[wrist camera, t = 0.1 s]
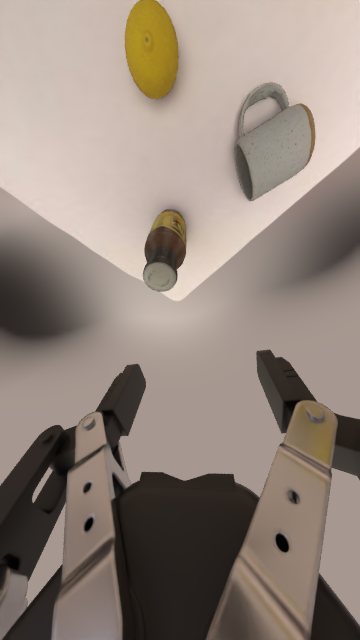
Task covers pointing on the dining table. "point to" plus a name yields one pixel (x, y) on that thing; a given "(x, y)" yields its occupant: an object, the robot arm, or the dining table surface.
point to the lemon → (151, 48)
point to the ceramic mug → (273, 144)
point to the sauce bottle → (165, 251)
